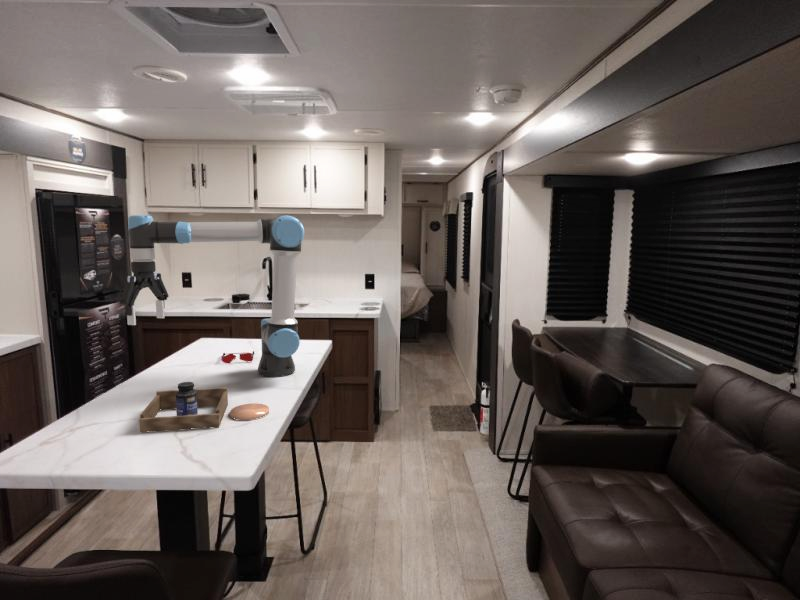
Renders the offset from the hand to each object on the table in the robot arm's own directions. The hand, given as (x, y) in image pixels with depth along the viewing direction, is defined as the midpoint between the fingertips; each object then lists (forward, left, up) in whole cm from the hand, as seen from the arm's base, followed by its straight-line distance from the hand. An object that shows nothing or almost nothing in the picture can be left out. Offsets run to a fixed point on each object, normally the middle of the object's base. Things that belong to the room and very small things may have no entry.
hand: (146, 321), depth 171 cm
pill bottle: (-17, +25, -27) cm, 40 cm away
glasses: (-25, -47, -28) cm, 60 cm away
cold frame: (-17, +25, -27) cm, 40 cm away
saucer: (-36, +25, -27) cm, 51 cm away
